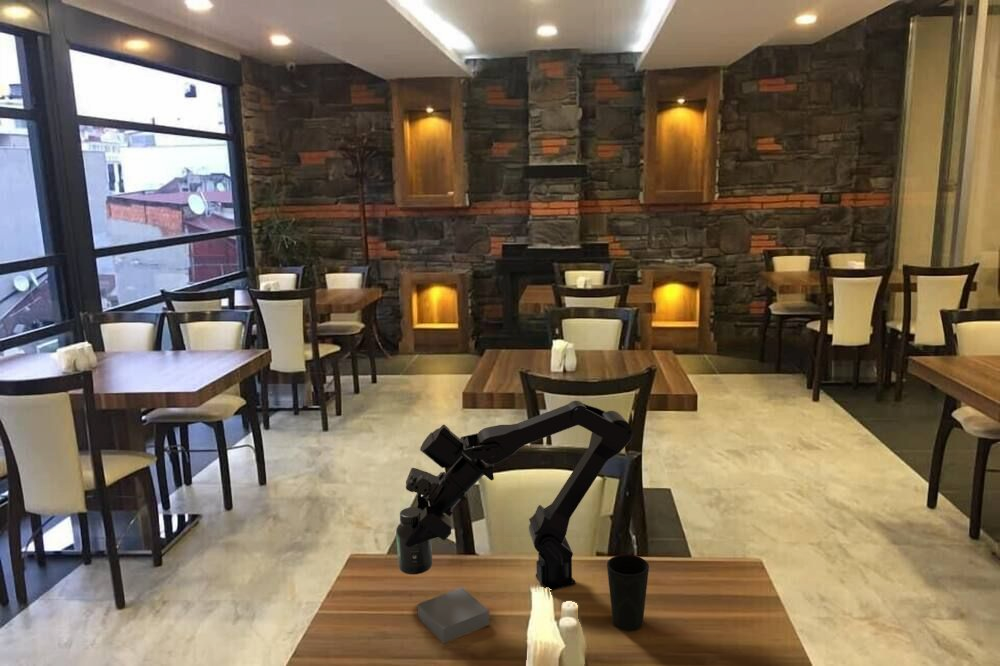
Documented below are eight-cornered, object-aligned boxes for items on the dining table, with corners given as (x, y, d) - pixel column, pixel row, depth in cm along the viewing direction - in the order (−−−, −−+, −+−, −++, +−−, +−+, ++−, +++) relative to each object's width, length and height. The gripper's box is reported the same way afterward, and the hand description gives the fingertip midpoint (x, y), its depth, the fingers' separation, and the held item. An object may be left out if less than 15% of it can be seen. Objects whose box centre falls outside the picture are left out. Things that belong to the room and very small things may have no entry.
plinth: (462, 600, 150) (462, 587, 149) (489, 624, 142) (489, 610, 141) (418, 618, 144) (417, 604, 144) (443, 643, 136) (442, 629, 136)
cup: (648, 636, 136) (648, 577, 134) (606, 632, 138) (605, 573, 135) (648, 612, 144) (649, 555, 141) (608, 609, 145) (608, 553, 143)
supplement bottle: (395, 575, 148) (390, 519, 146) (403, 557, 155) (399, 504, 152) (428, 575, 148) (425, 519, 145) (435, 558, 154) (432, 504, 152)
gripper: (426, 440, 156) (377, 494, 157) (429, 474, 138) (374, 535, 139) (466, 472, 158) (417, 525, 160) (474, 510, 140) (419, 569, 141)
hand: (406, 537), depth 150 cm, fingers closed on supplement bottle, 7 cm apart
